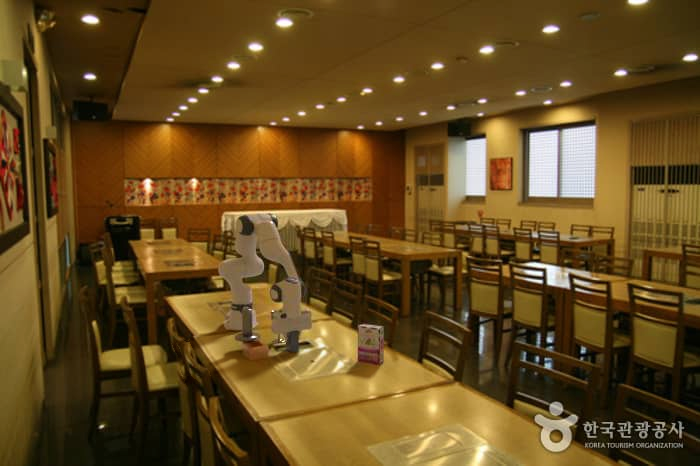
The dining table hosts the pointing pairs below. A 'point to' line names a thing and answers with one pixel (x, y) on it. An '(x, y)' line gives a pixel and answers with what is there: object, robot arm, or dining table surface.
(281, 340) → the wine glass
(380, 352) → the candy bar box
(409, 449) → the dining table surface
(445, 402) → the dining table surface
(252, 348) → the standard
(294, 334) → the dark brown upright block
